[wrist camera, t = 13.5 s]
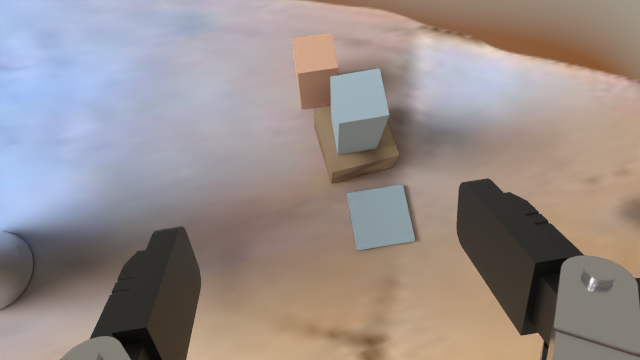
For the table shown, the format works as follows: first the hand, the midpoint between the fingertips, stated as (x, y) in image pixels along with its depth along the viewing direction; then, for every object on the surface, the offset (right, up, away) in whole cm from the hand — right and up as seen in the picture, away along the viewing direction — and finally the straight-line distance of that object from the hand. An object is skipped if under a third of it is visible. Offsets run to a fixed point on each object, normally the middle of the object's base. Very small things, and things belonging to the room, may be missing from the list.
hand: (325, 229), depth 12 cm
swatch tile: (+7, -3, +37) cm, 38 cm away
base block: (+4, +6, +40) cm, 40 cm away
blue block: (+4, +7, +35) cm, 36 cm away
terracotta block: (-1, +13, +42) cm, 44 cm away
